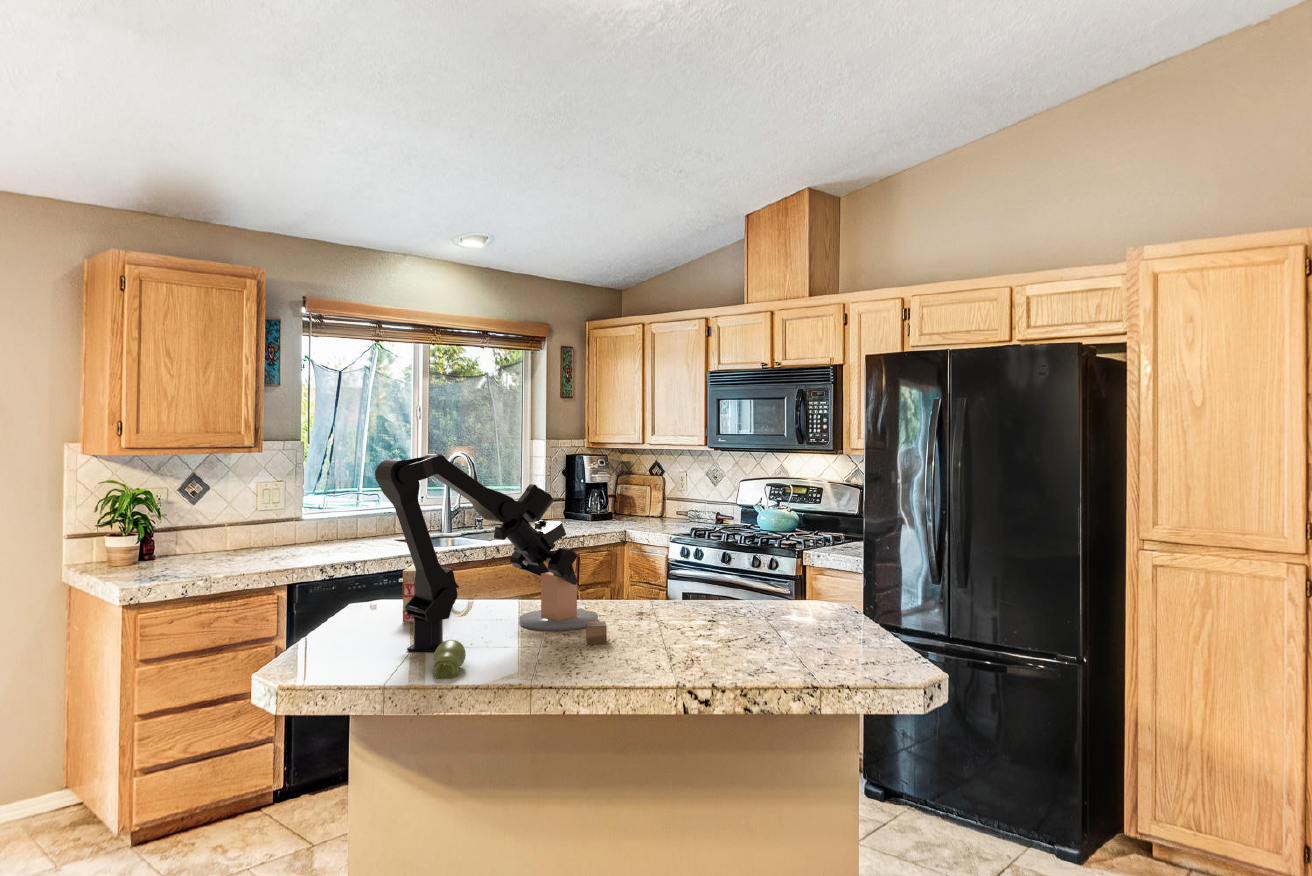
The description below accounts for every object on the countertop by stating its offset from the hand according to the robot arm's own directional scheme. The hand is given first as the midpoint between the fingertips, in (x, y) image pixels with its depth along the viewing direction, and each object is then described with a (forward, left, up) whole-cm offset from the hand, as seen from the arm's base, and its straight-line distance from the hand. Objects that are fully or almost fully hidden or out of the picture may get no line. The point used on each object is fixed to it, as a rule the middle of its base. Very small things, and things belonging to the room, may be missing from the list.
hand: (563, 580), depth 194 cm
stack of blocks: (+5, +35, -10) cm, 37 cm away
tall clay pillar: (-1, +1, -8) cm, 8 cm away
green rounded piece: (-43, +12, -10) cm, 46 cm away
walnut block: (-19, -11, -9) cm, 24 cm away
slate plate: (-1, +1, -9) cm, 9 cm away
